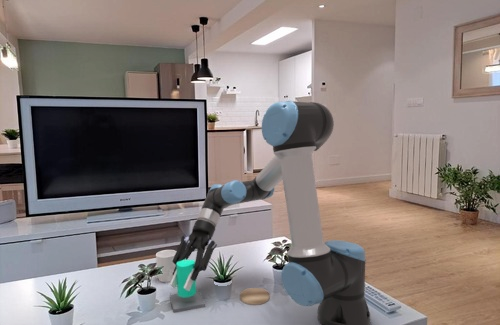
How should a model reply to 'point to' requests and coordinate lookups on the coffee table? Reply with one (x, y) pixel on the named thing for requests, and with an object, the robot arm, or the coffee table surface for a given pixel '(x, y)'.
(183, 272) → the candle
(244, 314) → the coffee table surface
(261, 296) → the cork pad
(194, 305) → the slate pad
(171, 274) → the white cup
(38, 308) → the coffee table surface
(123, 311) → the coffee table surface
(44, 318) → the coffee table surface
